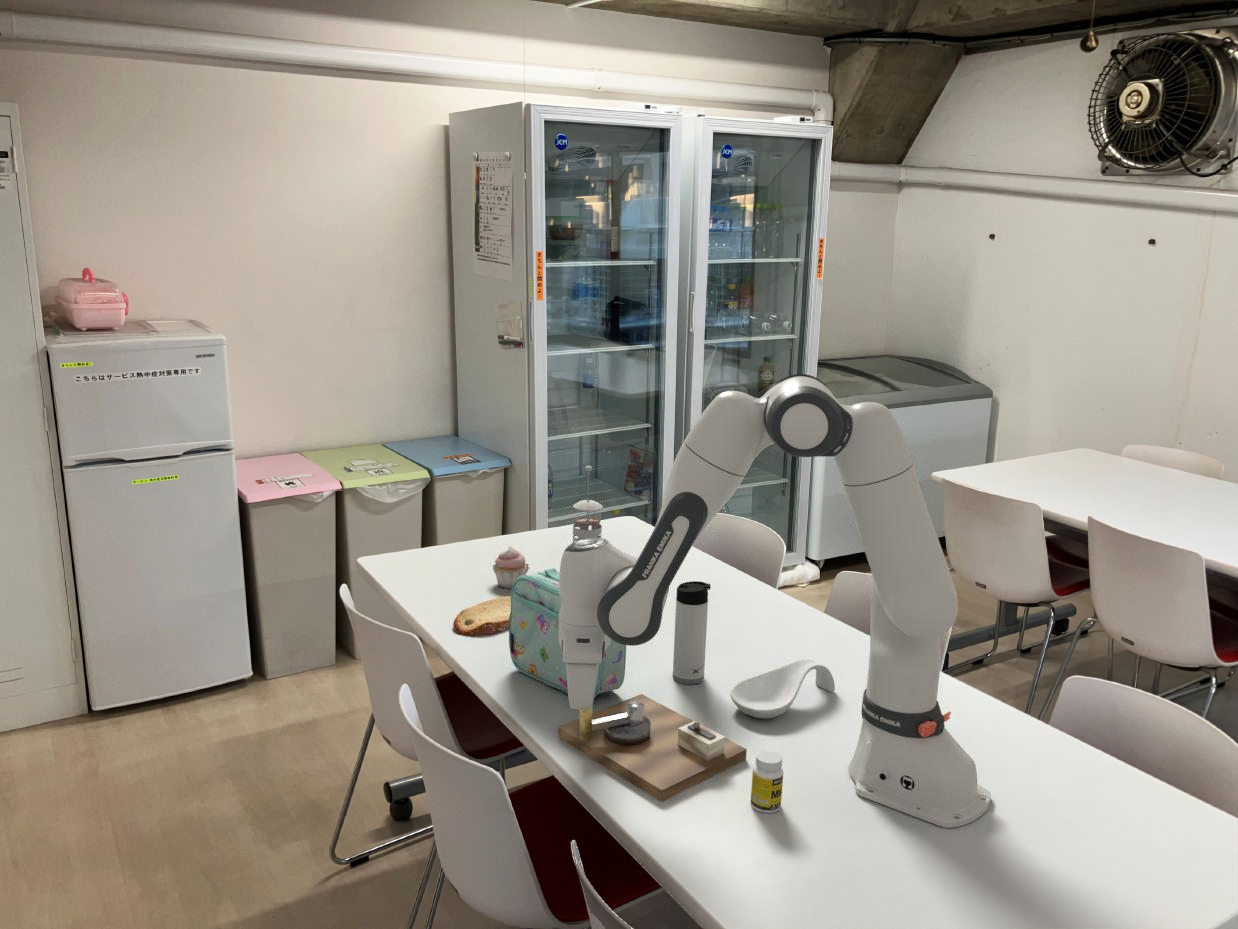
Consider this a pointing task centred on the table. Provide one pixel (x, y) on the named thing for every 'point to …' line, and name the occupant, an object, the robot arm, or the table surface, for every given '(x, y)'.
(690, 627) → the travel mug
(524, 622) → the lunch box
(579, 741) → the stand
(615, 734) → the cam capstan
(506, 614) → the slice of bread
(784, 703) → the spoon rest
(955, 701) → the table surface
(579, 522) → the french press
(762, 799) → the supplement bottle
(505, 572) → the cupcake
